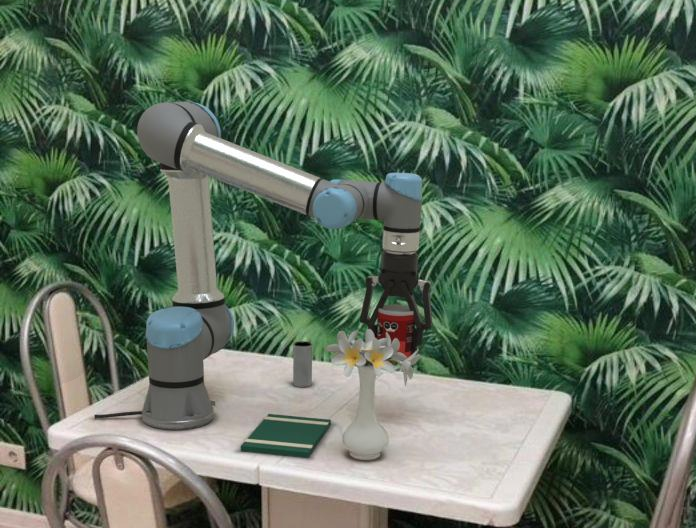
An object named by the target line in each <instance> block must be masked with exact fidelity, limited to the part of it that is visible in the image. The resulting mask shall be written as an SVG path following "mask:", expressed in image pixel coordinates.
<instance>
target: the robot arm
mask: <svg viewBox="0 0 696 528" xmlns="http://www.w3.org/2000/svg"><path fill="white" fill-rule="evenodd" d="M136 133H137V135H136V136H137V140H138V143H139V145H140V148H141V150H142V151H143V152H144V153H145V155H147V156H148V157H149V158H150V159H151V160H153V161H155V162H157V163H159V171H160V172H161V173H162V174H163V175H164V176H165V177H166V178H167V181H168V182H167V183H168V191H169V192H168V193H169V203H170V212H171V225H172V235H173V247H174V257H175V258H174V259H175V268H176V269H175V270H176V280H177V291H176V292H175V294H173V296H172V297H171V300H172V301H171V302H172V306H169V307H167V308H160V309H158V310H155V311H154V312H151V314H149V316H148V317H147V319H146V322H145V324H146V325H145V326H146V328H145V339H146V351H147V353H146V354H147V365H148V366H147V369H148V389H147V391H146V392H147V393H146V396H145V399H144V402H143V406H142V410H137V411H136V410H135V411H126V412H125V411H124V412H116V413H115V412H114V413H106V414H105V413H104V414H94V416H93V417H94V419H110V418H117V417H118V418H119V417H128V416H129V417H130V416H138V415H141V416H142V418H141V419H142V422H143V423H144V424H146V425H148V426H149V427H153V428H155V429H161V430H176V431H177V430H188V429H195V428H199V427H202V426H205V425H207V424H210V422H212V421H213V420H214V417H215V415H214V414H215V413H214V407H216V401H214V400H211V399H210V395H209V393H208V390H207V388H206V385H205V369H204V360H206V359H208V358H209V357H211V356H212V355H214V354H217V353H218V352H219V351H221V350H222V349H223V348H224V347H225V346H226V345H227V344H228V343H229V342H230V340H231V338H232V336H233V333H234V330H235V321H234V315H233V313H232V311H231V310H230V308H229V307H228V306H227V305H226V296H225V294H224V292H223V291H222V290H220V289H219V288H218V280H217V279H218V278H217V266H216V254H215V240H214V228H213V227H214V226H213V215H212V214H213V213H212V202H211V188H210V178H212V179H215V180H218V181H220V182H222V183H225V184H228V185H230V186H233V187H235V188H238V189H240V190H242V191H245V192H248V193H250V194H252V195H255V196H257V197H260V198H263V199H265V200H267V201H270V202H272V203H275V204H278V205H280V206H283V207H285V208H288V209H290V210H293V211H295V212H298V213H301V214H303V215H305V216H308V217H310V218H312V219H315V221H316V222H317V223H318V224H319V225H320V226H321V227H323V228H325V229H327V230H339V229H343V228H346V227H348V226H350V224H352V223H353V222H355V221H358V220H373V221H382V222H383V226H382V227H383V228H382V229H383V230H382V244H381V245H382V246H381V247H382V250H383V251H382V252H381V261H380V273H379V275H374V276H373V275H368V276H367V277H366V278H365V288H366V289H365V294H364V299H363V303H362V307H361V311H360V317H359V323H360V324H364V325H366V326H367V329H371V330H372V331H373V333H374V336H375V338H376V339H377V324H376V322H377V319H378V310H379V308H380V309H382V308H383V306H384V305H386V302H387V301H388V298H389V297H399V298H404V299H405V301H406V303H407V306H409V309H410V311H413V314H414V316H413V320H414V323H415V330H414V331H413V343H412V354H413V353H414V352H415V351H417V350H418V347H420V346H422V344H423V342H424V332H425V330H431V328H432V326H433V325H434V323H433V314H432V313H433V312H432V304H431V293H430V291H431V287H432V281H431V280H430V279H427V280H424V279H420V278H419V275H418V265H419V254H418V252H417V251H419V249H420V236H421V219H422V218H421V217H422V208H423V207H422V206H423V199H424V198H423V179H422V177H421V176H420V175H419V174H416V173H410V172H389V173H387V174H386V176H385V180H384V181H382V182H380V181H379V182H378V181H377V182H376V181H367V180H366V181H365V180H354V179H349V178H344V179H331V180H330V181H329V180H326V179H324V178H321V177H319V176H316V175H315V174H311V173H309V172H306V171H305V170H301V169H299V168H296V167H294V166H291V165H288V164H287V163H284V162H281V161H279V160H276V159H275V158H271V157H269V156H267V155H264V154H261V153H258V152H257V151H253V150H252V149H248V148H246V147H243V146H241V145H239V144H235V143H233V142H231V141H228V140H226V139H223V138H221V136H222V134H221V133H222V132H221V125H220V124H219V121H218V119H217V117H216V116H215V114H214V113H213V112H212V111H211V110H210V109H209V108H208V107H207V106H205V105H204V104H201V103H198V102H193V101H186V100H184V101H173V102H159V103H156V104H153V105H151V106H149V107H148V108H147V109H145V110H144V112H143V113H142V114H141V116H140V118H139V120H138V122H137V129H136ZM378 282H379V284H380V285H381V287H382V288H383V292H382V294H381V296H380V298H379V300H378V302H377V304H376V306H375V308H374V310H373V312H372V314H371V316H370V317H369V312H370V308H371V304H372V303H371V302H372V299H373V294H374V290H375V287H377V285H378ZM417 286H419V291H421V293H422V294H421V295H422V305H423V306H422V307H423V316H424V321H423V319H422V316H421V312H420V311H419V307H418V305H417V302H416V299H415V296H414V292H413V290H414V289H415V288H416V287H417ZM416 355H418V353H417V354H416ZM416 355H415V356H416Z"/></svg>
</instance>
